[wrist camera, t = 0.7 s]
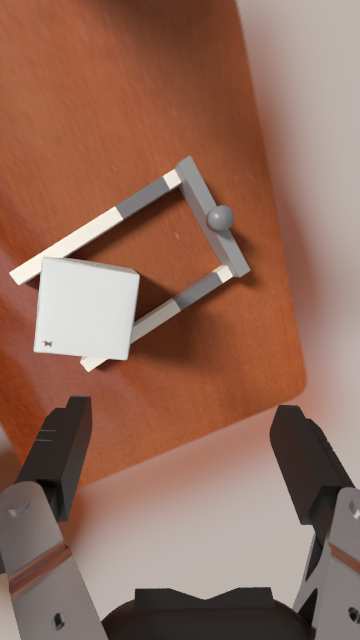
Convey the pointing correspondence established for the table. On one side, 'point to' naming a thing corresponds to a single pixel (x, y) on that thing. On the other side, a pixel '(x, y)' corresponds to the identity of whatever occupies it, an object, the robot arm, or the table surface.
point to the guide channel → (183, 176)
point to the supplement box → (85, 308)
